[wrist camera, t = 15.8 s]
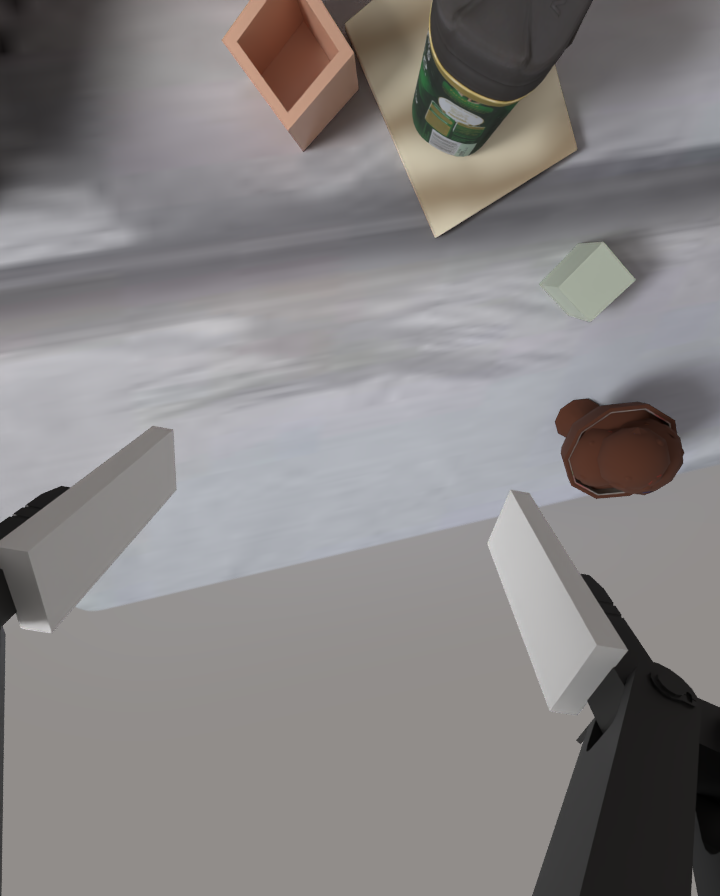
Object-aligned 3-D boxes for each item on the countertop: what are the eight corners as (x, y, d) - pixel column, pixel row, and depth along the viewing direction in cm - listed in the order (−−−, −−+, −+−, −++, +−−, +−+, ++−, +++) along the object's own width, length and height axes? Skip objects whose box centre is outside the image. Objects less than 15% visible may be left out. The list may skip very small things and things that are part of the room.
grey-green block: (538, 284, 41) (558, 287, 36) (578, 243, 39) (603, 241, 35) (568, 315, 42) (590, 322, 38) (607, 277, 40) (635, 279, 36)
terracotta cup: (250, 79, 34) (221, 40, 28) (305, 7, 32) (287, -53, 26) (303, 151, 37) (287, 130, 30) (358, 89, 34) (354, 52, 28)
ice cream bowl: (520, 450, 50) (572, 522, 36) (555, 368, 45) (629, 416, 31) (598, 464, 50) (677, 540, 37) (641, 384, 45) (751, 438, 32)
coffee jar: (448, -9, 30) (530, -322, 14) (533, 42, 32) (701, -193, 15) (396, 132, 35) (411, 20, 18) (472, 173, 36) (552, 102, 19)
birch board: (345, 31, 33) (344, 23, 32) (502, -100, 29) (507, -114, 28) (434, 237, 39) (436, 237, 38) (571, 152, 36) (577, 149, 35)
